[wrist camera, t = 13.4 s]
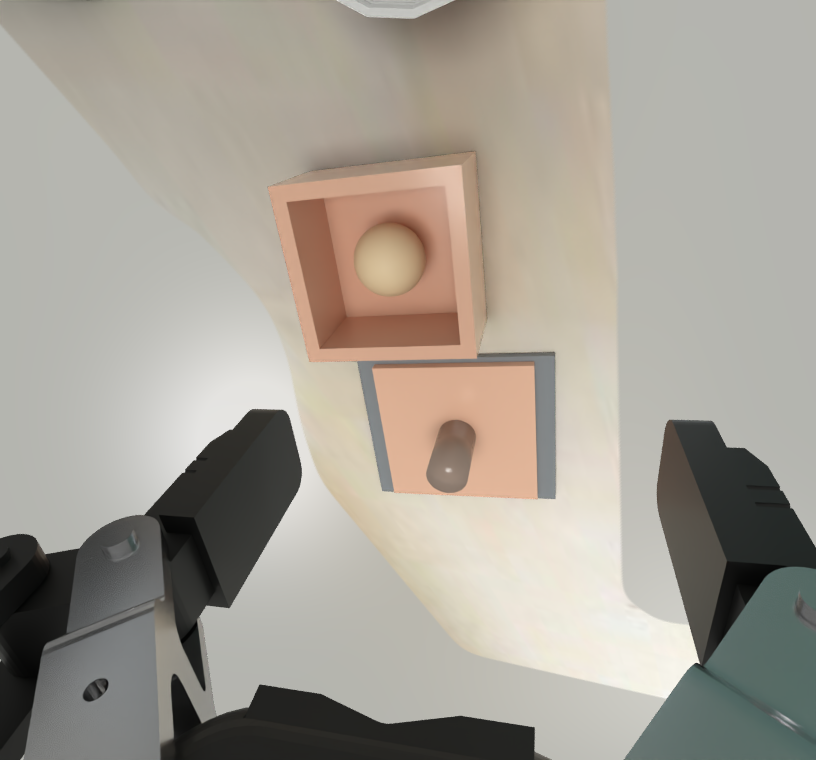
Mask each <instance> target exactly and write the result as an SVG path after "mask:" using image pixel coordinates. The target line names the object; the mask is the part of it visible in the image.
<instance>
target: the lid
mask: <svg viewBox="0 0 816 760" xmlns="http://www.w3.org/2000/svg"><path fill="white" fill-rule="evenodd" d="M372 371H373V377H374V382H375V388H376V393H377V399H378V404H379V410H380V416H381V421H382V427H383V432H384V438H385V443H386V449H387V454H388V460H389V465H390V471H391V476H392V482H393V488H394V493H413V494H435V495H457V496H478V497H500V498H522V499H538V483H537V443H536V404H535V364H534V361H524V362H471V363H418V364H375V365H374V366H373V368H372Z"/></svg>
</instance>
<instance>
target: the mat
mask: <svg viewBox="0 0 816 760" xmlns="http://www.w3.org/2000/svg"><path fill="white" fill-rule="evenodd" d="M524 361H534V364H535V404H536V443H537V483H538V498H544V499H555V352H553V353H508V354H478V356H477V359H431V360H381V361H357V363H358V368H359V373H360V378H361V383H362V389H363V394H364V399H365V404H366V409H367V414H368V420H369V425H370V430H371V435H372V440H373V446H374V451H375V456H376V461H377V466H378V471H379V477H380V482H381V487H382V491H391V492H394V488H393V482H392V476H391V471H390V465H389V460H388V454H387V449H386V443H385V438H384V432H383V427H382V421H381V416H380V410H379V404H378V399H377V393H376V388H375V382H374V377H373V371H372V368H373V366H374V365H375V364H418V363H471V362H524Z"/></svg>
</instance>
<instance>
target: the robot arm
mask: <svg viewBox="0 0 816 760" xmlns="http://www.w3.org/2000/svg"><path fill="white" fill-rule="evenodd" d="M301 476H302V468H301V462H300V458H299V454H298V450H297V446H296V442H295V438H294V434H293V430H292V426H291V422H290V418H289V416H288V414H287V412H286V411H284V410H267V409H252V410H250V411H249V412H248V413H247V414H246V415H245V416H244V417H243V418H242V420H241V421H240V422H239V423H238V424H237V425H236V426H235V428H234V429H233V430H229V431H227V432H225V433H224V434H223V435H221V436H219V437H218V438H216V439H215V440H213V441H211V442H210V443H209V444H208V445H207V446H206V447H205V448H204V450H203V451H202V452H201V453H200V454H199V455H198V456H197V457H196V461H195V460H194V461H193V462H192V463H191V464H190V465H189V466H188V467H187V468H186V469H185V473H182V474H181V475H180V476H179V477H178V478H177V479H176V480H175V482H174V483H173V484H172V485H171V486H170V487H169V488H168V489H167V490H166V491H165V493H164V494H163V495H162V496H161V497H160V498H159V499H158V500H157V501H156V503H155V504H154V505H153V506H152V507H151V508H150V509H149V510H148V511H147V512H146V514H145V515H135V516H129V517H125V518H122V519H119V520H116V521H113V522H111V523H109V524H107V525H105V526H104V527H102V528H100V529H99V530H97V531H96V532H95V533H94V534H92V535H91V536H90V537H89V538H88V539H87V540H86V541H85V542H84V543H83V545H82V546H81V547H80V548H79V549H74V550H68V551H62V552H57V553H51V554H44V552H43V550H42V548H41V547H40V545H39V544H38V542H37V540H36V538H34V537H33V536H30V535H27V534H26V535H25V534H17V535H11V536H7V537H3V538H0V659H1V662H0V760H20V759H21V758H22V757H23V755H24V760H551V759H549V758H547V757H544V756H542V755H540V754H538V753H536V752H534V740H535V728H534V727H528V726H522V725H516V724H509V723H502V722H496V721H490V720H484V719H477V718H471V717H464V716H455V717H447V718H438V719H429V720H420V721H412V722H402V723H394V724H384V723H380V722H377V721H375V720H373V719H371V718H369V717H367V716H365V715H363V714H361V713H359V712H357V711H354V710H353V709H351V708H348V707H346V706H344V705H342V704H340V703H338V702H336V701H334V700H332V699H330V698H328V697H326V696H324V695H322V694H317V693H311V692H304V691H297V690H291V689H285V688H278V687H272V686H266V685H259V687H258V689H257V691H256V693H255V696H254V698H253V700H252V702H251V704H250V706H249V708H243V709H239V710H235V711H231V712H227V713H225V714H222V715H219V716H217V715H216V711H215V706H214V701H213V694H212V687H211V680H210V673H209V666H208V658H207V651H206V644H205V637H204V630H203V625H202V622H201V619H200V617H199V616H200V615H201V613H202V611H203V610H204V608H205V606H206V605H207V606H216V607H225V608H230V606H231V605H232V603H233V601H234V599H235V598H236V596H237V594H238V593H239V591H240V589H241V587H242V586H243V584H244V582H245V581H246V579H247V577H248V575H249V574H250V572H251V570H252V569H253V567H254V565H255V564H256V562H257V560H258V558H259V557H260V555H261V553H262V552H263V550H264V548H265V546H266V545H267V543H268V541H269V540H270V538H271V536H272V534H273V533H274V531H275V529H276V528H277V526H278V524H279V523H280V521H281V519H282V517H283V516H284V514H285V512H286V510H287V509H288V507H289V505H290V504H291V502H292V500H293V499H294V497H295V495H296V493H297V492H298V489H299V487H300V483H301ZM657 504H658V512H659V517H660V520H661V524H662V528H663V531H664V534H665V538H666V542H667V546H668V549H669V553H670V556H671V560H672V563H673V567H674V571H675V575H676V578H677V582H678V586H679V589H680V593H681V596H682V600H683V604H684V607H685V611H686V614H687V618H688V622H689V626H690V629H691V633H692V636H693V640H694V644H695V647H696V651H697V655H698V658H699V662H700V664H698V663H695V664H694V665H692V666H691V667H690V668H689V669H688V670H687V672H686V673H685V674H684V676H683V677H682V678H681V680H680V681H679V682H678V684H677V685H676V687H675V688H674V689H673V691H672V692H671V694H670V695H669V697H668V698H667V699H666V701H665V702H664V704H663V705H662V706H661V708H660V710H659V711H658V712H657V714H656V715H655V716H654V718H653V719H652V721H651V722H650V723H649V725H648V726H647V728H646V729H645V731H644V732H643V733H642V735H641V736H640V738H639V739H638V740H637V742H636V743H635V745H634V746H633V747H632V749H631V750H630V752H629V753H628V754H627V756H626V757H625V759H624V760H816V547H815V545H814V544H813V542H812V540H811V539H810V537H809V535H808V534H807V532H806V530H805V528H804V527H803V525H802V523H801V522H800V520H799V519H798V517H797V515H796V513H795V512H794V510H793V509H792V508H790V503H789V501H788V500H787V498H786V496H785V495H784V493H783V491H780V486H779V484H778V483H777V481H776V479H775V478H774V476H773V474H772V473H771V471H770V469H769V468H768V466H767V465H765V464H764V463H763V462H762V461H760V460H759V459H758V458H757V457H755V456H754V455H753V454H751V453H750V452H749V451H748V450H746V449H745V448H727V447H726V445H725V443H724V441H723V439H722V437H721V435H720V433H719V431H718V430H717V428H716V426H715V424H714V423H713V422H712V421H698V420H669V421H668V422H667V424H666V428H665V433H664V440H663V447H662V454H661V461H660V468H659V475H658V483H657Z"/></svg>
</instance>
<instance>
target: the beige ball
mask: <svg viewBox="0 0 816 760" xmlns="http://www.w3.org/2000/svg"><path fill="white" fill-rule="evenodd" d="M425 265H426V255H425V250H424V247H423V244H422V242H421V241H420V239H419V238H418V236H417V235H416V234H415V233H414V232H413V231H412V230H410V229H409V228H407V227H405V226H403V225H401V224H397V223H382V224H378V225H376V226H373V227H372V228H370V229H369V230H367V231H366V232H365V233H364V234H363V235H362V236H361V238H360V239H359V241H358V243H357V245H356V247H355V251H354V268H355V271H356V274H357V276H358V278H359V280H360V281H361V283H362V284H363V285H364V286H365V287H366V288H367V289H369V290H370V291H371V292H373V293H375V294H378V295H381V296H386V297H393V296H399V295H402V294H405V293H407V292H408V291H410V290H411V289H413V288H414V287H415V286H416V285H417V284H418V282H419V281H420V279H421V277H422V275H423V273H424V270H425Z"/></svg>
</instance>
